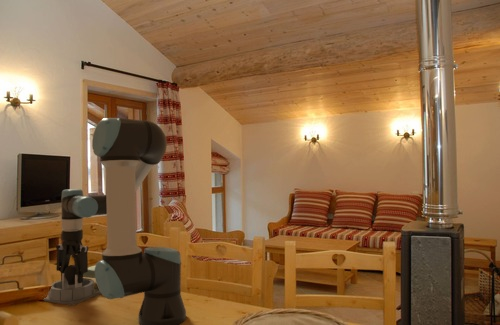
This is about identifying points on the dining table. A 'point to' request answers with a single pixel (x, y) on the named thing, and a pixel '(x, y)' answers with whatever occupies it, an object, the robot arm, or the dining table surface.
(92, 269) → the pale green square board
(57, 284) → the holder
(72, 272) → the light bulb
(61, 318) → the dining table surface
